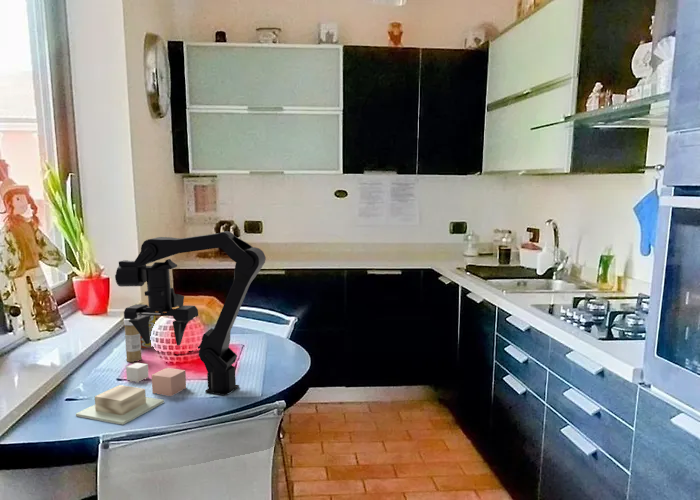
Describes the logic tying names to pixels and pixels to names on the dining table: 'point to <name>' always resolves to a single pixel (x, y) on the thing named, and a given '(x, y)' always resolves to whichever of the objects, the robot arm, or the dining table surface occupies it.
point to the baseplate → (120, 419)
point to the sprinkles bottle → (132, 342)
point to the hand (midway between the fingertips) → (163, 344)
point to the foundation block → (120, 399)
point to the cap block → (137, 372)
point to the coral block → (168, 381)
